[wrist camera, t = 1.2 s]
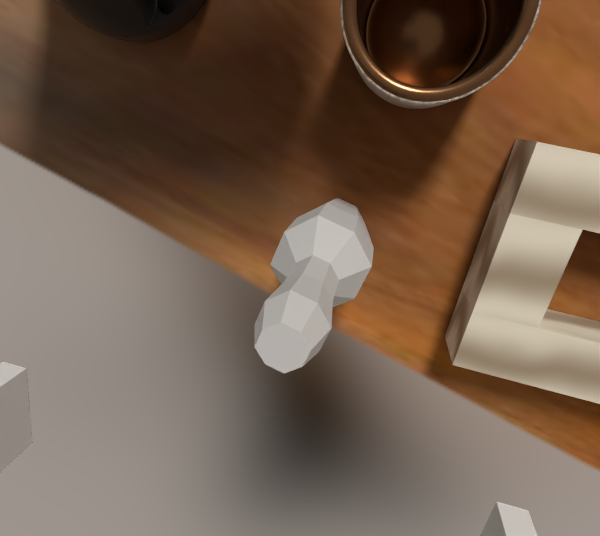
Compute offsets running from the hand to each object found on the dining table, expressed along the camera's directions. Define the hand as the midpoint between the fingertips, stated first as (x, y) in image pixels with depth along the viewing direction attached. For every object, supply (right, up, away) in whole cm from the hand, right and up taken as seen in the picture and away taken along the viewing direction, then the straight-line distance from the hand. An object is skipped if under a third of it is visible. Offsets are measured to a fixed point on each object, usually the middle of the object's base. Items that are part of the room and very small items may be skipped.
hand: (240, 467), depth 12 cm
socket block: (+25, +5, +24) cm, 35 cm away
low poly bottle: (+5, +9, +27) cm, 29 cm away
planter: (+11, +23, +21) cm, 33 cm away
